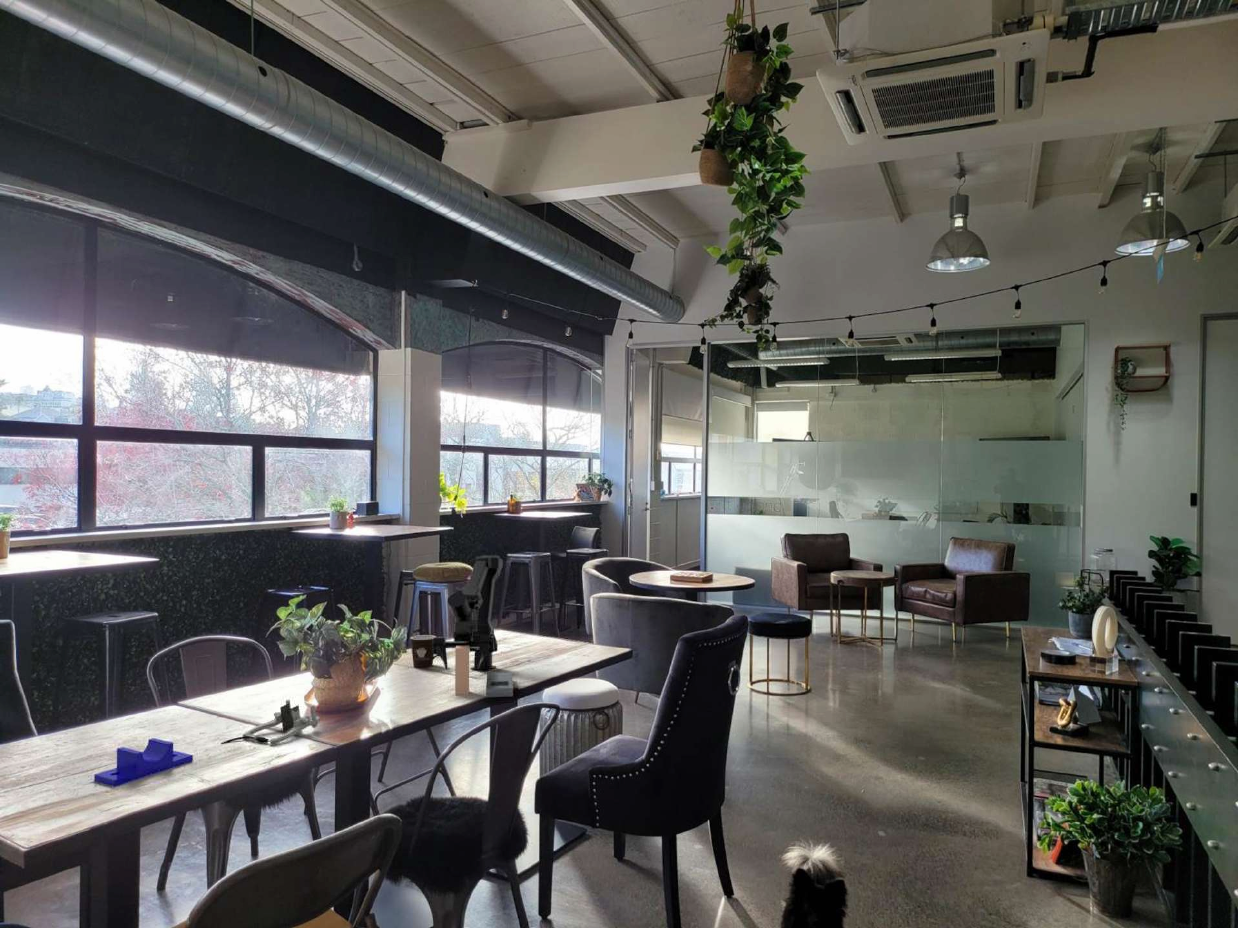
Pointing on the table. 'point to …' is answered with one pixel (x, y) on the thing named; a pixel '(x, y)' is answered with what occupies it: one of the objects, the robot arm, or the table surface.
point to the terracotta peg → (462, 670)
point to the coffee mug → (422, 651)
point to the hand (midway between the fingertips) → (462, 668)
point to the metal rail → (499, 685)
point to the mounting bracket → (143, 762)
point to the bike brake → (283, 724)
